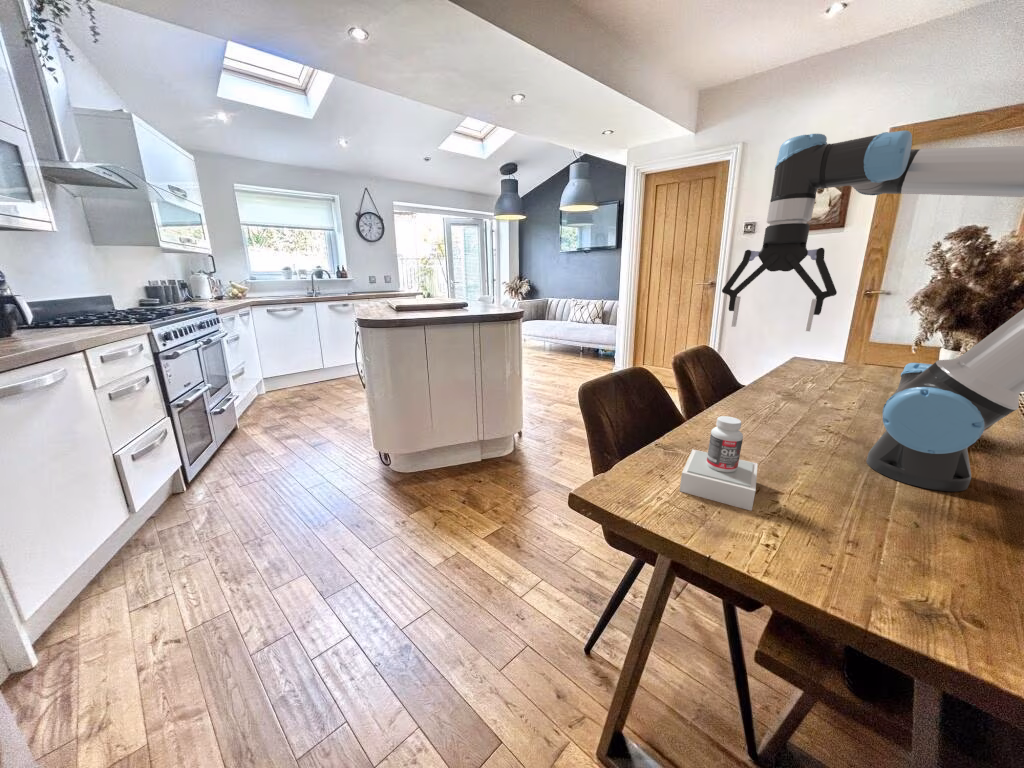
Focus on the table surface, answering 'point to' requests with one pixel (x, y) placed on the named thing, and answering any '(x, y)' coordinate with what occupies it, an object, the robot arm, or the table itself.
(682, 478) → the plinth
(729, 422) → the pill bottle
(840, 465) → the table surface
